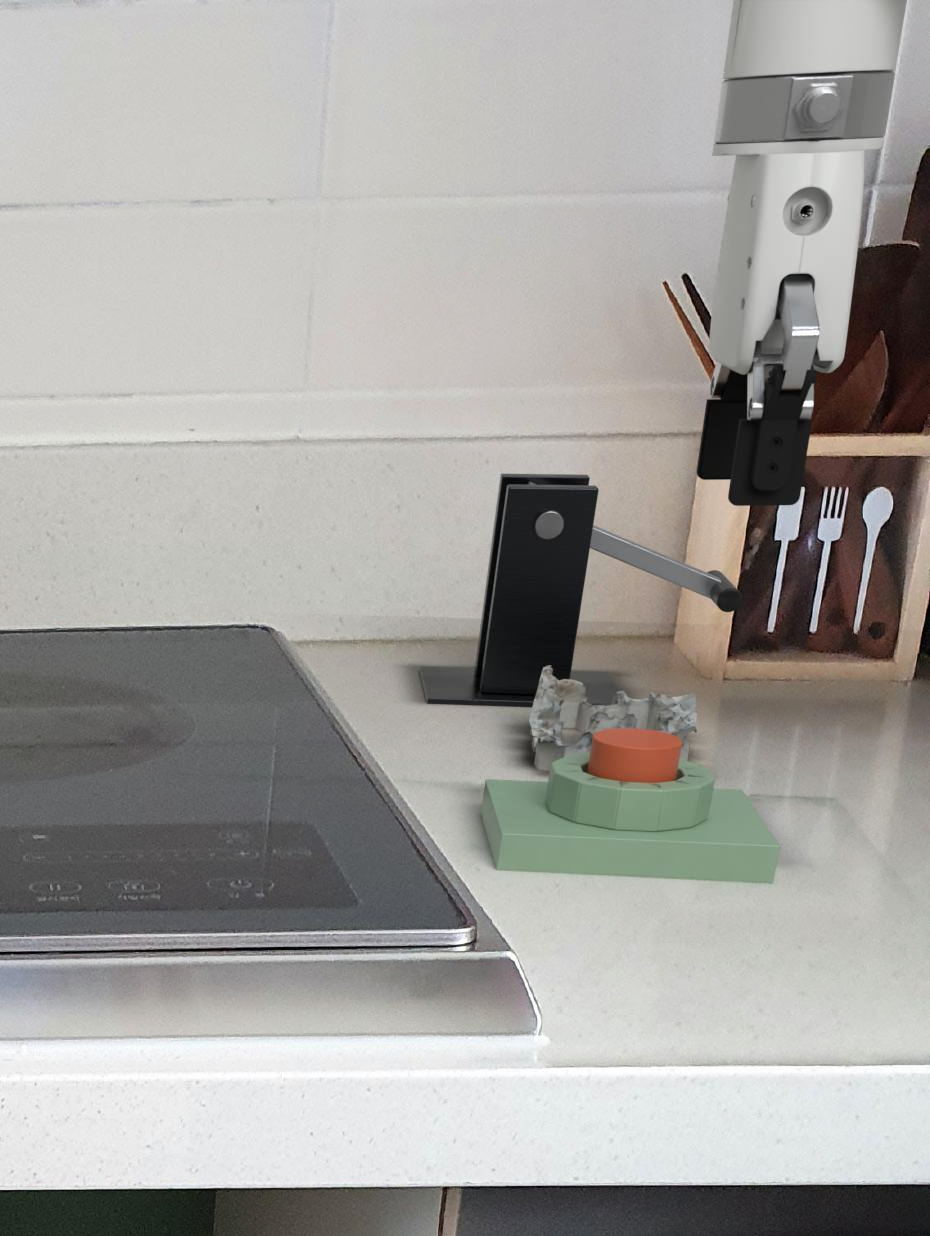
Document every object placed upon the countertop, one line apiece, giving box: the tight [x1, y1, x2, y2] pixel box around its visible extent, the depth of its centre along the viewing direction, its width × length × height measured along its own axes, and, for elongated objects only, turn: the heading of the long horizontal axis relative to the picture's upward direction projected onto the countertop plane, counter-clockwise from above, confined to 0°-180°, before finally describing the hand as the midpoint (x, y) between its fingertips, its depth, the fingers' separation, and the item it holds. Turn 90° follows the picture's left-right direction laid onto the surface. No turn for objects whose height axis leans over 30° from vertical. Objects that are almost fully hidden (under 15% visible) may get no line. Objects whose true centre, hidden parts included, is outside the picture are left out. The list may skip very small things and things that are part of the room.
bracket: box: [419, 473, 620, 708], centre depth 121 cm, size 10×8×12 cm
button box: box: [480, 753, 781, 884], centre depth 99 cm, size 11×9×4 cm
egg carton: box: [528, 665, 698, 772], centre depth 110 cm, size 11×8×4 cm
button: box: [587, 728, 682, 783], centre depth 98 cm, size 4×4×2 cm
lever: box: [527, 482, 743, 613], centre depth 119 cm, size 12×6×2 cm, turn 76°
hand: (744, 491), depth 116 cm, fingers open, 9 cm apart
